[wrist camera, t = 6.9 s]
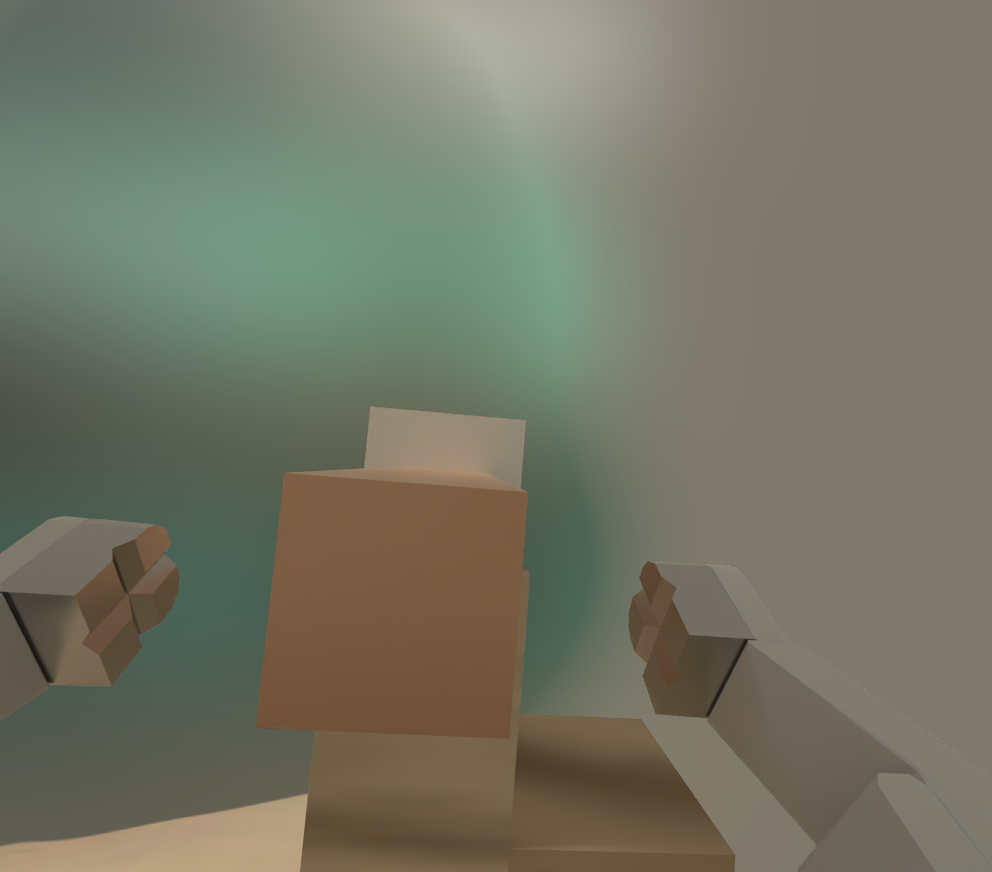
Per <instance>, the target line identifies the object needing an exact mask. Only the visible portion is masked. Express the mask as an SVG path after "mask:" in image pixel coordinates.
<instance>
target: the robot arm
mask: <svg viewBox="0 0 992 872" xmlns="http://www.w3.org/2000/svg"><path fill="white" fill-rule="evenodd" d="M170 546H171V543H170V540H169V537H168V534H167V530H166V529H165V528H163V527H161V526H159V525H155V524H144V523H132V522H123V521H113V520H103V519H86V518H76V517H65V516H62V517H58V518H54V519H49V520H47V521H46V522H45V523H43V524H42V525H40V526H39V527H38V528H36V529H35V530H33V531H32V532H30V533H29V534H28V535H26V536H25V537H24V538H22V539H21V540H19V541H18V542H16V543H15V544H13V545H12V546H11V547H9V548H8V549H6V550H5V551H4V552H2V553H1V554H0V720H2V719H3V718H5V717H6V716H8V715H9V714H11V713H12V712H14V711H15V710H17V709H18V708H20V707H21V706H23V705H24V704H26V703H27V702H29V701H30V700H32V699H33V698H35V697H36V696H38V695H39V694H41V693H42V692H44V691H45V690H47V689H48V688H49V685H92V686H112V685H113V683H114V682H115V681H116V680H117V678H118V677H119V676H120V674H121V673H122V672H123V671H124V669H125V668H126V667H127V666H128V664H129V663H130V662H131V660H132V659H133V658H134V657H135V655H136V654H137V653H138V652H139V650H140V649H141V648H142V637H141V634H143V633H145V632H146V631H148V630H150V629H152V628H153V627H155V626H157V625H159V624H160V623H161V622H162V621H163V620H164V618H165V617H166V615H167V614H168V613H169V611H170V610H171V609H172V607H173V604H174V601H175V599H176V596H177V593H178V591H179V573H178V569H177V565H175V564H174V563H173V562H172V561H171V560H170V559H169V558H168V557H166V555H164V554H165V553H166V551H167V550H168V548H169V547H170ZM640 580H641V583H642V586H643V588H644V589H643V590H641V591H640V592H639V593H637V594H636V595H635V596H633V599H632V603H631V606H630V610H629V631H630V638H631V641H632V644H633V648H634V651H635V653H636V654H637V655H639V656H640V657H641V658H642V659H643V660H644V661H645V662H646V663H647V665H646V668H645V671H644V674H643V678H644V681H645V684H646V687H647V690H648V693H649V695H650V699H651V702H652V705H653V707H654V710H655V714H660V715H672V716H685V717H697V718H708V720H707V722H708V723H709V724H710V725H711V726H712V727H713V729H714V730H715V731H716V732H717V733H718V734H719V735H720V737H721V738H722V739H723V740H724V741H725V742H726V743H727V744H728V746H729V747H730V748H731V749H732V750H733V751H734V752H735V753H736V755H737V756H738V757H739V758H740V759H741V760H742V761H743V762H744V764H745V765H746V766H747V767H748V768H749V769H750V770H751V772H752V773H753V774H754V775H755V776H756V777H757V778H758V779H759V780H760V782H761V783H762V784H763V785H764V786H765V787H766V788H767V790H768V791H769V792H770V793H771V794H772V795H773V796H774V797H775V799H776V800H777V801H778V802H779V803H780V804H781V805H782V806H783V808H784V809H785V810H786V811H787V812H788V813H789V814H790V816H791V817H792V818H793V819H794V820H795V821H796V822H797V823H798V825H799V826H800V827H801V828H802V829H803V830H804V831H805V832H806V834H807V835H808V836H809V837H810V838H811V839H812V840H813V842H814V843H815V844H816V845H817V846H816V848H815V849H814V850H813V851H812V852H811V853H810V855H809V856H808V857H807V858H806V859H805V861H804V862H803V863H802V864H801V865H800V866H799V868H798V871H797V872H992V778H991V776H990V775H988V774H987V773H985V772H984V771H983V770H981V769H980V768H978V767H977V766H975V765H973V764H972V763H971V762H970V761H968V760H967V759H965V758H964V757H962V756H961V755H959V754H958V753H956V752H955V751H954V750H952V749H951V748H949V747H948V746H946V745H945V744H944V743H942V742H941V741H939V740H938V739H936V738H935V737H934V736H932V735H931V734H929V733H928V732H926V731H925V730H923V729H922V728H921V727H919V726H918V725H916V724H915V723H913V722H912V721H910V720H909V719H907V718H906V717H905V716H903V715H902V714H900V713H899V712H897V711H896V710H895V709H893V708H892V707H890V706H889V705H887V704H886V703H885V702H883V701H882V700H880V699H879V698H877V697H876V696H874V695H873V694H872V693H870V692H869V691H867V690H866V689H864V688H863V687H861V686H860V685H859V684H857V683H856V682H854V681H853V680H851V679H850V678H849V677H847V676H846V675H844V674H843V673H841V672H840V671H838V670H837V669H836V668H834V667H833V666H831V665H830V664H828V663H827V662H825V661H824V660H823V659H821V658H820V657H818V656H817V655H815V654H814V653H813V652H811V651H810V650H808V649H807V648H805V647H804V646H802V645H801V644H797V643H790V642H789V640H788V639H787V637H786V636H785V634H784V633H783V632H782V630H781V629H780V627H779V626H778V625H777V623H776V622H775V620H774V619H773V617H772V616H771V614H770V613H769V612H768V610H767V609H766V607H765V606H764V605H763V603H762V602H761V600H760V599H759V597H758V596H757V595H756V593H755V592H754V591H753V589H752V587H751V586H750V585H749V583H748V582H747V580H746V579H745V577H744V576H743V574H742V573H741V572H740V571H739V570H738V569H737V568H735V567H734V566H729V565H711V564H704V565H700V564H685V563H671V562H656V561H648V562H647V563H646V564H645V565H644V567H643V569H642V572H641V575H640Z"/></svg>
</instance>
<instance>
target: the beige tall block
mask: <svg viewBox="0 0 992 872" xmlns="http://www.w3.org/2000/svg"><path fill="white" fill-rule="evenodd" d="M529 582H530V575H529V574H528V572H527V570H526V568H525V567H524V565H523V566H522V579H521V592H520V605H519V618H518V631H517V644H516V657H515V670H514V683H513V696H512V709H511V722H510V735H509V739H502V738H478V737H455V736H432V735H409V734H385V733H362V732H339V731H316V730H315V733H314V743H313V752H312V762H311V772H310V782H309V791H308V801H307V810H306V820H305V829H304V839H303V849H302V858H301V868H300V872H734V870H735V854H734V853H733V851H732V850H731V848H730V847H729V845H728V844H727V842H726V841H725V840H724V838H723V837H722V835H721V834H720V833H719V831H718V829H717V828H716V827H715V825H714V824H713V822H712V821H711V819H710V818H709V817H708V815H707V814H706V812H705V811H704V809H703V808H702V807H701V805H700V804H699V802H698V801H697V799H696V798H695V797H694V795H693V793H692V792H691V791H690V789H689V788H688V786H687V785H686V783H685V782H684V780H683V779H682V778H681V776H680V775H679V773H678V772H677V770H676V769H675V768H674V766H673V765H672V763H671V762H670V760H669V759H668V757H667V756H666V755H665V753H664V752H663V750H662V749H661V747H660V746H659V744H658V743H657V742H656V740H655V739H654V737H653V736H652V734H651V733H650V732H649V730H648V729H647V727H646V726H645V725H644V723H643V721H642V720H641V719H625V718H624V719H623V718H603V717H582V716H560V715H539V714H520V700H521V686H522V674H523V661H524V648H525V635H526V634H525V633H526V622H527V609H528V595H529Z"/></svg>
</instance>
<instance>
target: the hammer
mask: <svg viewBox="0 0 992 872" xmlns="http://www.w3.org/2000/svg"><path fill="white" fill-rule="evenodd" d="M525 424H526V421H525V420H514V419H503V418H492V417H480V416H470V415H458V414H447V413H436V412H425V411H414V410H403V409H391V408H380V407H371V408H370V418H369V428H368V437H367V448H366V458H365V467H364V469H347V470H329V471H311V472H293V473H285V474H284V483H283V492H282V501H281V509H280V519H279V527H278V536H277V545H276V554H275V563H274V572H273V582H272V591H271V599H270V609H269V617H268V627H267V635H266V644H265V654H264V662H263V671H262V680H261V689H260V698H259V707H258V715H257V725H256V728H270V729H292V730H293V729H294V730H316V731H339V732H362V733H385V734H409V735H432V736H455V737H478V738H502V739H509V735H510V722H511V709H512V696H513V683H514V670H515V657H516V644H517V631H518V618H519V605H520V592H521V579H522V566H523V553H524V540H525V527H526V514H527V500H528V492H527V491H524V490H522V489H520V488H521V475H522V462H523V450H524V437H525Z"/></svg>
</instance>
